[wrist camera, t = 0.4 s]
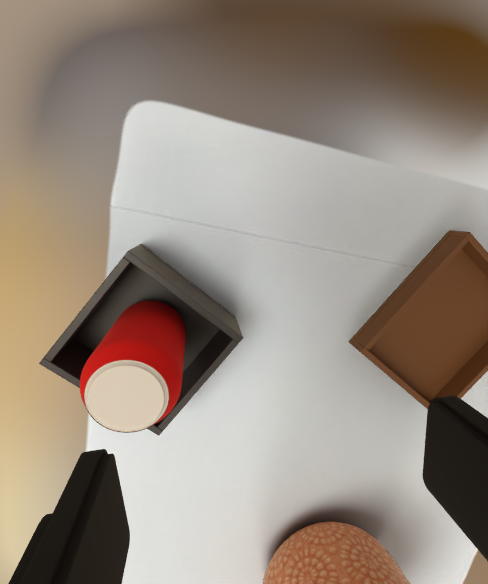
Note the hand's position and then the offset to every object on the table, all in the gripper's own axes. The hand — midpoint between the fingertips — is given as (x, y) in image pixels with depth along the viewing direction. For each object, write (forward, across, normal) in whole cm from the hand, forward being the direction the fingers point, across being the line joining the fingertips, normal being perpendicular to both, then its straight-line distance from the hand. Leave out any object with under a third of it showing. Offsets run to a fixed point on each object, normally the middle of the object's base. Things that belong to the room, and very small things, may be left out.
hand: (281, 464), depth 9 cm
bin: (+23, +7, +3) cm, 24 cm away
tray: (+23, -23, +6) cm, 33 cm away
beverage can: (+22, +7, +3) cm, 24 cm away
